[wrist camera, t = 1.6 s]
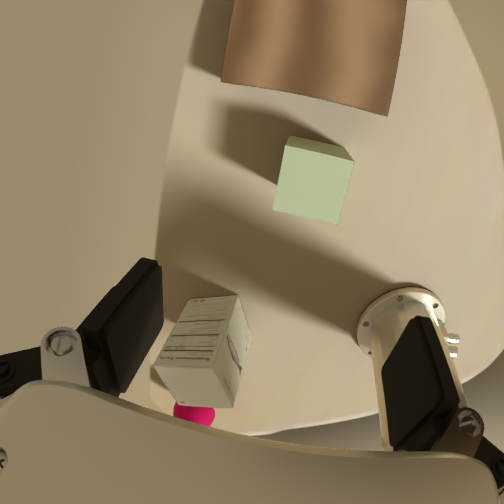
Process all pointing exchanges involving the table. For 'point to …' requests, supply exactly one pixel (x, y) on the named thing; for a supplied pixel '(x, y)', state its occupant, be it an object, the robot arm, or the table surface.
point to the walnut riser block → (318, 49)
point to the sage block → (313, 179)
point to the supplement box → (206, 353)
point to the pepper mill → (195, 414)
